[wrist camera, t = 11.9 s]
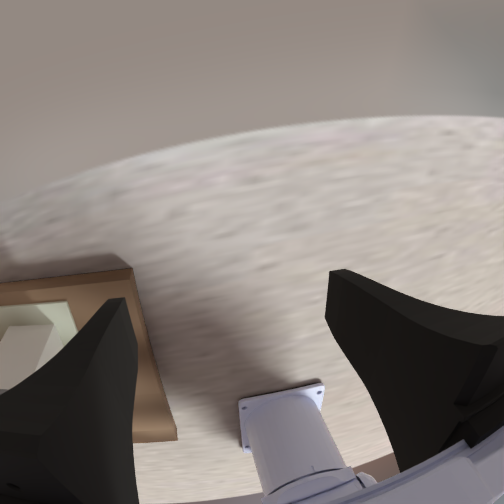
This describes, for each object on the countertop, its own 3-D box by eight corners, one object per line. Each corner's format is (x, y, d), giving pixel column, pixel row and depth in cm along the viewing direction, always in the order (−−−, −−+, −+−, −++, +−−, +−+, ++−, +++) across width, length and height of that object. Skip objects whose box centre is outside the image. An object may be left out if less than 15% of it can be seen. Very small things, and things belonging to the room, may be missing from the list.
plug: (75, 369, 20) (57, 447, 14) (29, 369, 19) (4, 440, 13) (55, 322, 18) (24, 401, 12) (7, 325, 17) (-30, 395, 11)
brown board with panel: (176, 428, 27) (177, 442, 25) (32, 428, 24) (29, 441, 22) (132, 268, 20) (129, 281, 18) (-47, 288, 17) (-57, 299, 15)
